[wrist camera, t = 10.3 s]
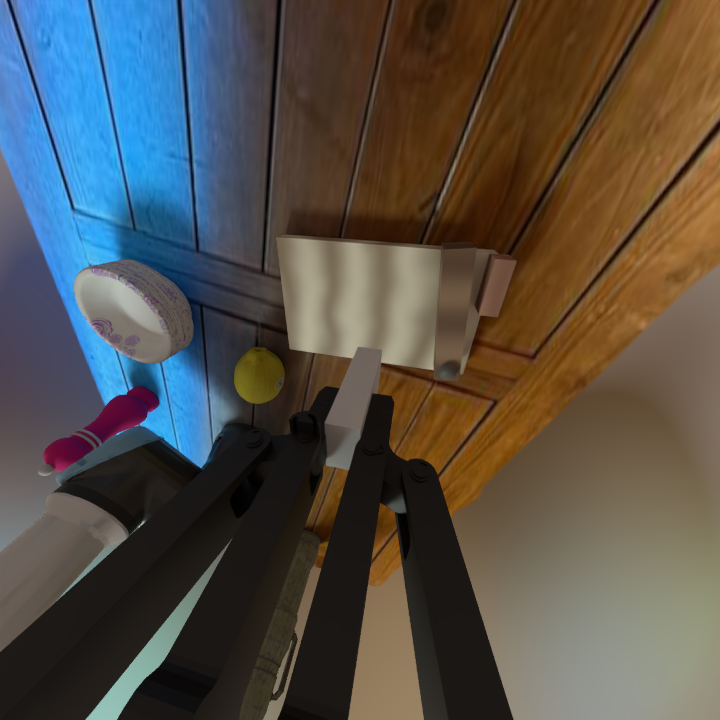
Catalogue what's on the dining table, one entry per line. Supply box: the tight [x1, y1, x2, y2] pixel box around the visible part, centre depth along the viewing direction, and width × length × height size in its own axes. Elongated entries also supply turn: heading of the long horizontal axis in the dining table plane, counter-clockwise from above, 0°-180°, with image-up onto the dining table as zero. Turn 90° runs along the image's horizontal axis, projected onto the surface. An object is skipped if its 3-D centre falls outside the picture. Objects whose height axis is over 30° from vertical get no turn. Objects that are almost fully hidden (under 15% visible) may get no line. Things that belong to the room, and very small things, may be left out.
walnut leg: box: [433, 242, 477, 381], centre depth 31 cm, size 16×3×5 cm, turn 5°
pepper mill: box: [38, 386, 159, 476], centre depth 52 cm, size 7×7×20 cm
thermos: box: [239, 530, 321, 720], centre depth 66 cm, size 9×12×35 cm
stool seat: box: [276, 234, 517, 374], centre depth 35 cm, size 27×16×6 cm, turn 88°
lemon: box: [234, 347, 285, 404], centre depth 44 cm, size 11×8×8 cm
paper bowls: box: [74, 260, 194, 364], centre depth 42 cm, size 15×15×8 cm
